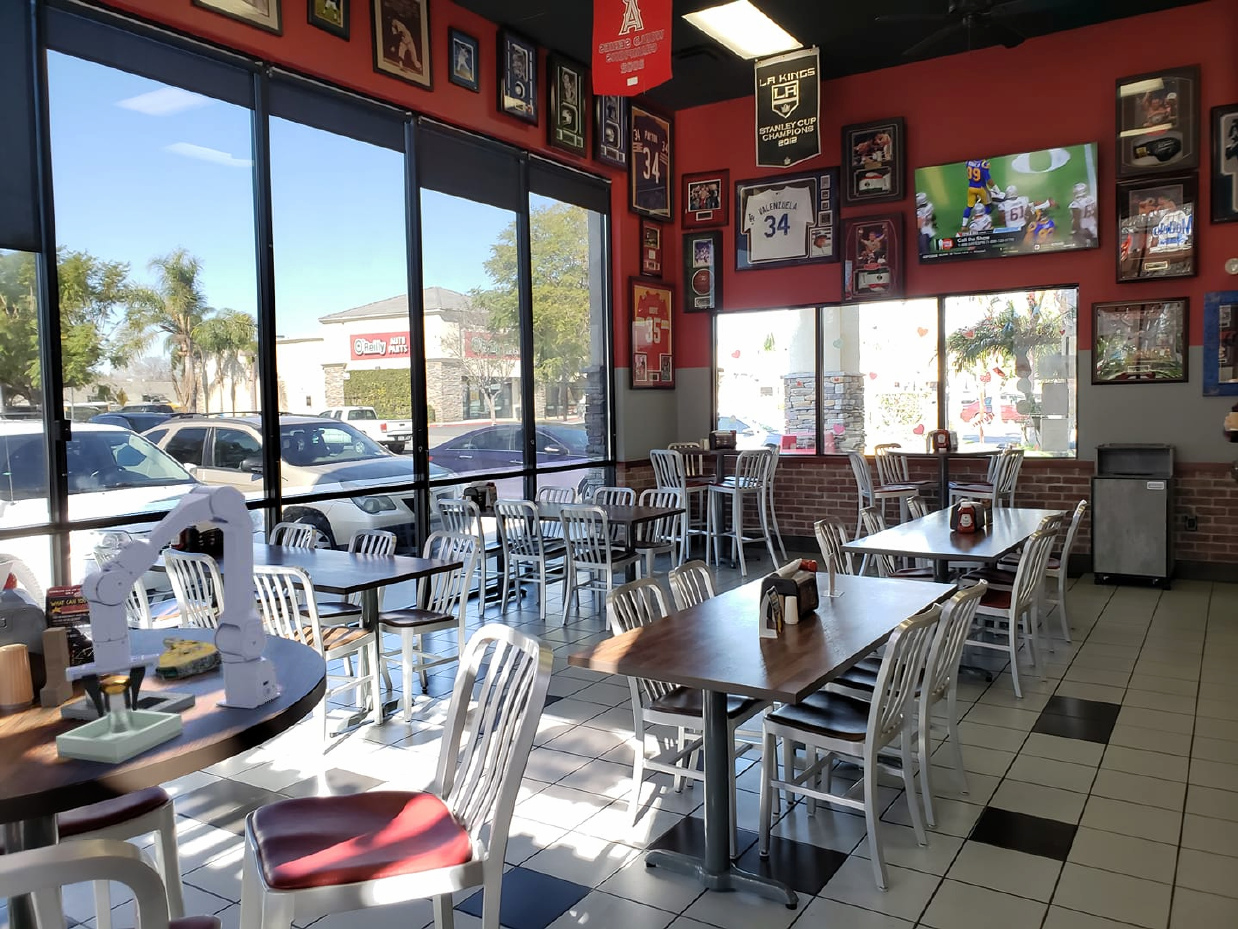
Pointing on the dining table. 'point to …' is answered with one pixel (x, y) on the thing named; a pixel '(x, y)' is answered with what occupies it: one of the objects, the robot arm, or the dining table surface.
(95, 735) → the tray
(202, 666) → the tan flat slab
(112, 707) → the pin
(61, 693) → the wooden block
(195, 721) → the dining table surface
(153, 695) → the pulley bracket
